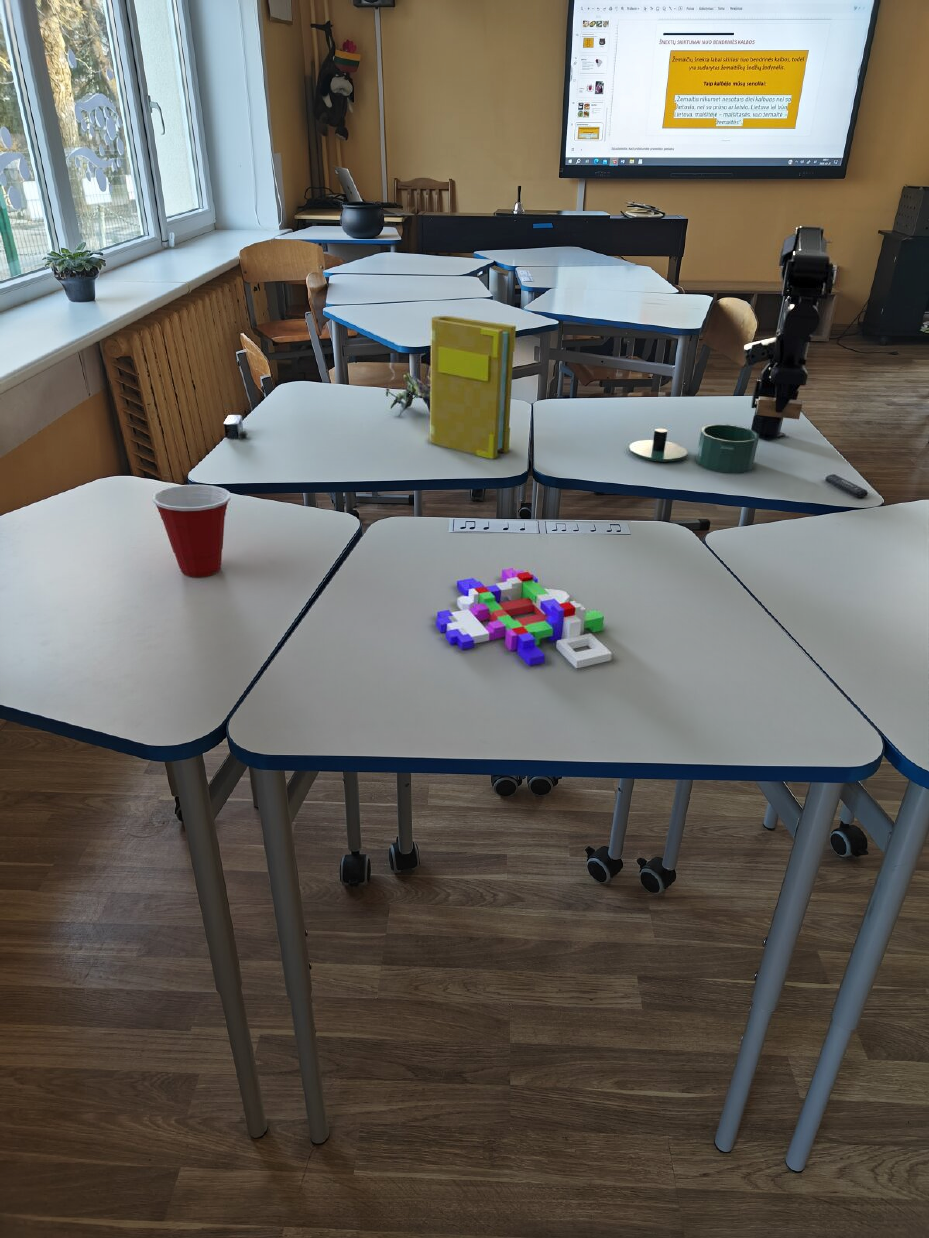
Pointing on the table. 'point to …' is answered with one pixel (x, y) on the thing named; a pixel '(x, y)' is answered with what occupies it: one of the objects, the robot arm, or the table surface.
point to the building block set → (524, 619)
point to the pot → (727, 448)
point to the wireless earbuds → (234, 427)
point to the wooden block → (769, 408)
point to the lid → (658, 448)
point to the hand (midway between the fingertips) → (778, 410)
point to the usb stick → (846, 486)
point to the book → (471, 384)
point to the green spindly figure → (412, 393)
